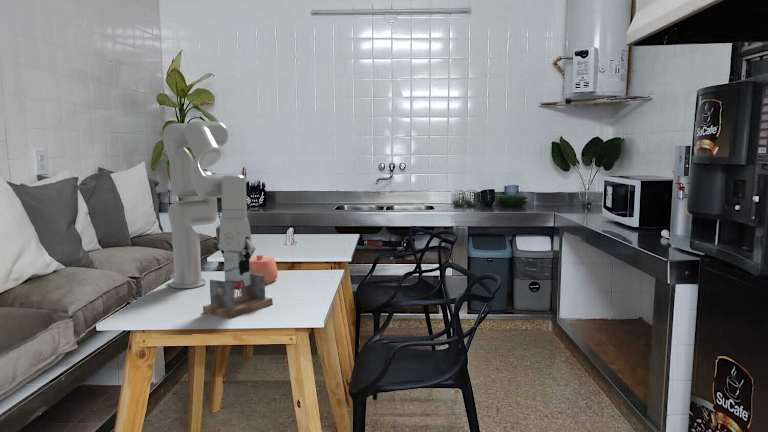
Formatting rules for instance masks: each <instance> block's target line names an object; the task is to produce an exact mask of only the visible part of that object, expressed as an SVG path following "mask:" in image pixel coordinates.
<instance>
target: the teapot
mask: <svg viewBox="0 0 768 432" xmlns="http://www.w3.org/2000/svg"><path fill="white" fill-rule="evenodd" d="M249 264H250V273H253V274H260V275H264V277H265V285H266V284H270V283H272V282H274V281H276V280H277V278H278V273H279V272H278V268H277V263H276V259H275V257H269V256H268V257H264V255H263V254H256V256H255V257H253V256H252V257H251V259H249Z"/></svg>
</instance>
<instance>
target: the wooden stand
mask: <svg viewBox="0 0 768 432" xmlns="http://www.w3.org/2000/svg"><path fill="white" fill-rule="evenodd" d="M240 290H241V291H240V292H241V295H238V296H235V290H234V283H230V282H225V280H224V281H223V280H217V279H211V278H210V279H209V291H210V292H209V293H210V294H209V295H210V304H209V303H208V304H206V305H202V312H203V313H204V314H208V315H213V316H217V317H223V318H226V319H232V318H235V317H238V316H241V315H244V314H248V313H251V312H253V311H254V312H255V311H257V310H259V309H262V308H266V307H269V306H272V305H273V303H274V302H273V301H274V300H273V298H272V297H267V296H266V284H265V277H264V275H260V274H253V273H250V284H249V285H247V286H245V287H244V288H242V289H240Z"/></svg>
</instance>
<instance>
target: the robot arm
mask: <svg viewBox="0 0 768 432" xmlns="http://www.w3.org/2000/svg"><path fill="white" fill-rule="evenodd" d="M228 138H229V131H228V129H227V127H226V125H225V124H223V122H221V121H215V120H213V121H211V120H210V121H207V120H195V121H191V122H189V123H184V122H183V123H178V122H177V123H171V124H168V125H167V126H165V127H164V129H163V132H162V142H163V146H164V149H165V152H166V155H167V156H168V157H167V158H168V162H169V175H170V176H169V177H170V190H171V193H172V195H174V197H178V198H193V197H197V198H198V197H200V198H201V199H197V200H192V199H191V200H181V201H180V200H179V201H175V202H173V203H171V204H170V206H169V207H168V210H167V211H168V212H167V216H168V220H169V224H170V227H171V228H170V229H171V239H172V255H173V273H171V274H170V275H169V277H170V278H173V280H172V281H171V282H170V287H171V288H174V289H194V288H199V287H202V286H205V285H206V284H207V280H206V279H204V278H202V265H201V261H202V260H201V243H200V237H199V235H198V232H196V230H195V229H194V228H193V227H196V226H207V225H212V224H214V223H215V222H216V221H217V219H218V199H217V198H221V216H222V218H221V219H220V223H219V232H218V233H219V234H218V235H219V239H218V240H219V241H218V242H219V243H218V244H217V248H218V249H219V250H220V253H221V254H222V258H223V259H224V252H225V251H232V252H240V256H241V259H242V260H241V261H240V267H241V273H246V272H249V271H250V267H249V259H251V258H252V257H253V254H254V252H255V251H256V246H254V244H253V243H252V235H251V233H252V232H251V227H250V222H249V219H248V204H247V203H248V201H247V180H246V177H245V176H244V175H242V174H235V173H212V172H210V171H208V170H205V169H207V168H210V167H212V166H213V165H215V164H216V163H217V162H219V160H220V159H221V157H222V151H221V149H220V147H223V146H225V145H226V144H227V142H228ZM187 148H189V149H190V150H191V152H192V154H191V152H190V151H189V150H188V149H187ZM244 252H245V255H244Z"/></svg>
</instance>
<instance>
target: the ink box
mask: <svg viewBox="0 0 768 432" xmlns="http://www.w3.org/2000/svg"><path fill="white" fill-rule="evenodd" d="M244 255H245V252H244ZM241 260H242V259H241V256H240V252H232V251H225V252H224V258H223V262H224V263H223V264H224V265H223V267H224V269H223V270H224V282H230V283H234V291H235V290H237V291H239V290H241V289H242V288H244V287H245V286H247V285H249V284H250V271H249V272H246V273H241V267H240V261H241ZM249 267H250V264H249Z"/></svg>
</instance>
